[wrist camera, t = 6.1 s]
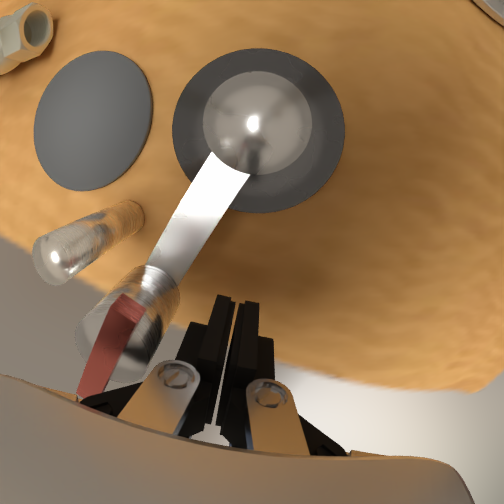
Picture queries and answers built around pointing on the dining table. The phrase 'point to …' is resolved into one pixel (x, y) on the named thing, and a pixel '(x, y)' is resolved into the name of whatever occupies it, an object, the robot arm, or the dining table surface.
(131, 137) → the mat
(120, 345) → the crank
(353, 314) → the dining table surface
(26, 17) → the valve
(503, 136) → the dining table surface
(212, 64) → the crank housing
